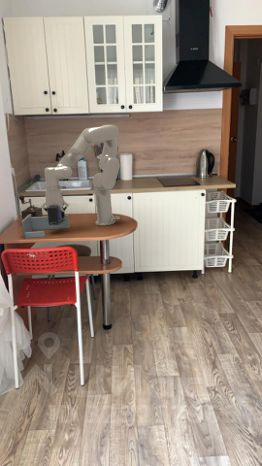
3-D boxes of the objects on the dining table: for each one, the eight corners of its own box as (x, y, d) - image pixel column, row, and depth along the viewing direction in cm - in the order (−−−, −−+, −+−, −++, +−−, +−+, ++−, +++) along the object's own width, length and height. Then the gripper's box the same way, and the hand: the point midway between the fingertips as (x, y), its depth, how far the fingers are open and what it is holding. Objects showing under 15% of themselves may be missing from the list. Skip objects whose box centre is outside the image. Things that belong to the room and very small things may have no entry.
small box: (58, 225, 220) (56, 207, 217) (48, 225, 222) (46, 207, 219) (65, 220, 230) (63, 203, 227) (55, 220, 231) (53, 203, 228)
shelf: (69, 227, 236) (67, 211, 233) (64, 235, 220) (62, 218, 217) (31, 229, 237) (29, 214, 234) (23, 238, 220) (21, 221, 218)
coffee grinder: (44, 220, 258) (41, 194, 252) (36, 225, 247) (32, 197, 242) (24, 220, 262) (20, 194, 257) (15, 225, 252) (11, 198, 246)
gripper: (69, 186, 223) (72, 216, 228) (39, 188, 224) (43, 217, 229) (66, 189, 216) (70, 219, 221) (36, 190, 217) (40, 220, 222)
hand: (56, 218), depth 225 cm, fingers closed on small box, 7 cm apart
